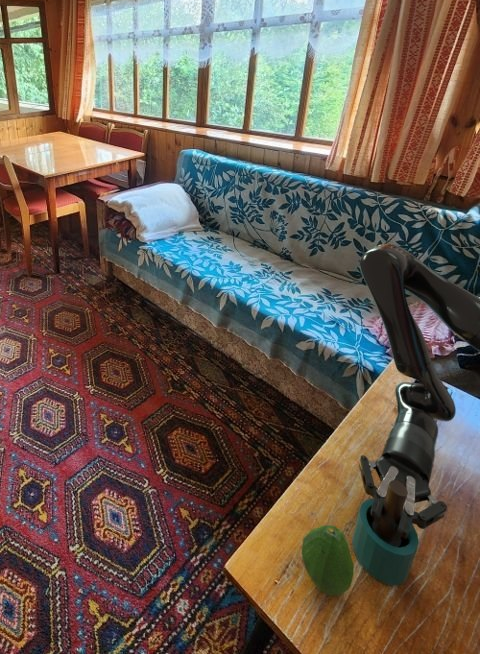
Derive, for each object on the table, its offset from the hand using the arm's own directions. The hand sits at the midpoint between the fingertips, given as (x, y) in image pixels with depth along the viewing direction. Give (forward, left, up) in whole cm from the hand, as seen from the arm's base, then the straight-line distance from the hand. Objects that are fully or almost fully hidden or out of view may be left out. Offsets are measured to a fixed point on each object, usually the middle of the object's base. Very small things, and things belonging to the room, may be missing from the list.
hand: (387, 527), depth 62 cm
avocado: (+9, +3, -13) cm, 16 cm away
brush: (-2, -2, -9) cm, 10 cm away
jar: (-2, -2, -12) cm, 13 cm away
